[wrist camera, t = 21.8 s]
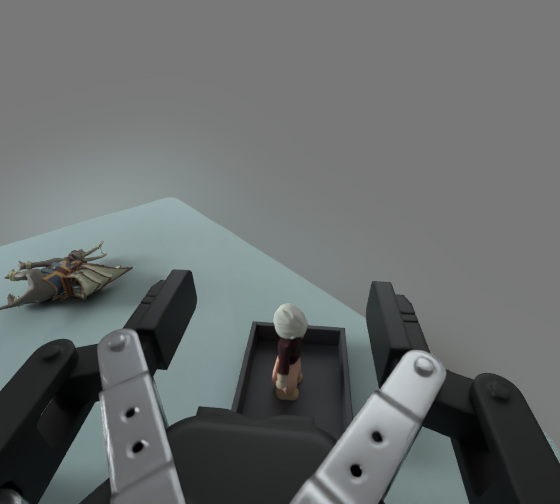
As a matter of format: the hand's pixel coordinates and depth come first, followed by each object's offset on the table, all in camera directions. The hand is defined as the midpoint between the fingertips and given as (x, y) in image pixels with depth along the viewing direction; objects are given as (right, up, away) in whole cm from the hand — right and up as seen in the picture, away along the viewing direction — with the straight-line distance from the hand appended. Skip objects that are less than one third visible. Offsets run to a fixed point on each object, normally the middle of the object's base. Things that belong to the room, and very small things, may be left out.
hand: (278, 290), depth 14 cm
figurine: (-34, -5, +39) cm, 52 cm away
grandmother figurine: (+1, -15, +23) cm, 27 cm away
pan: (+2, -15, +23) cm, 27 cm away
